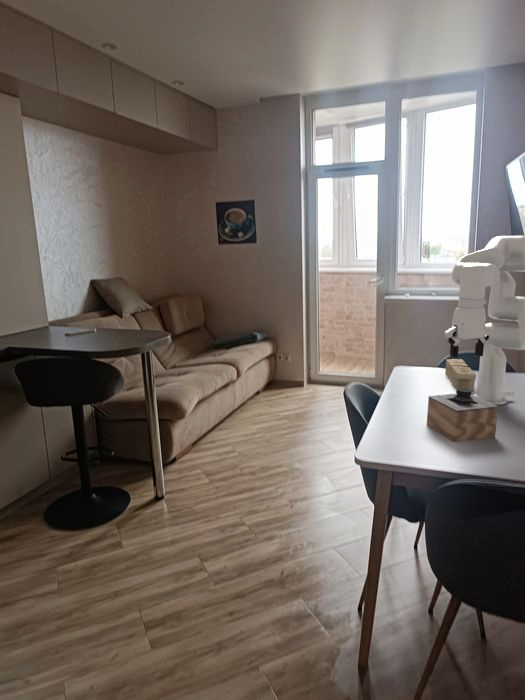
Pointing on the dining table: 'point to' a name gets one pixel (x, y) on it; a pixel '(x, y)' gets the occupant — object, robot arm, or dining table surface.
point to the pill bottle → (463, 396)
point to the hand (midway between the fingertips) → (466, 356)
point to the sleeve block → (462, 418)
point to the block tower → (460, 374)
